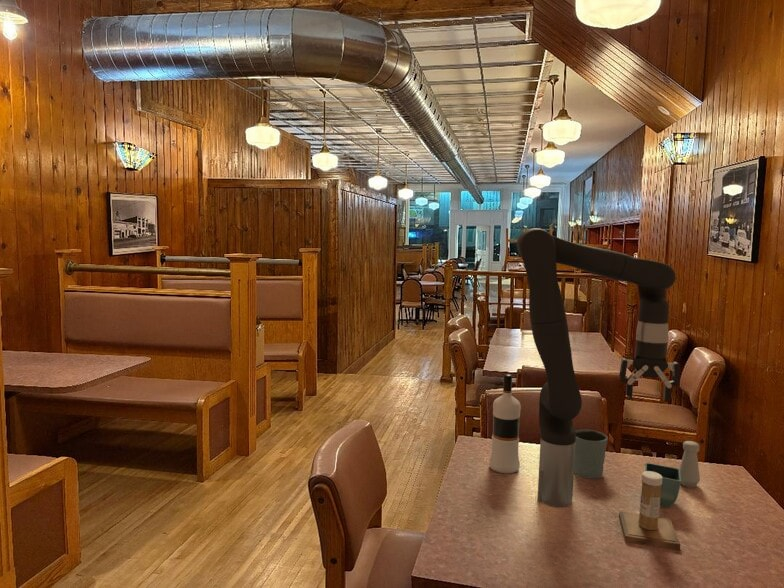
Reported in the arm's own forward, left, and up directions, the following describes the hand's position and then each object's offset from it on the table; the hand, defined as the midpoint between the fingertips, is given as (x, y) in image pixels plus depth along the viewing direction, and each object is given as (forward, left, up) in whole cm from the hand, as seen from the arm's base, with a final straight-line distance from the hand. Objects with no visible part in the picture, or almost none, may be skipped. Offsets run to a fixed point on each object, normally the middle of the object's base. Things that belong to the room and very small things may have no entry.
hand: (647, 399), depth 146 cm
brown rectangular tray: (0, -13, -30) cm, 33 cm away
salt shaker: (+16, +19, -30) cm, 39 cm away
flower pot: (+6, +5, -30) cm, 31 cm away
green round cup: (-12, +19, -30) cm, 38 cm away
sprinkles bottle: (0, -13, -29) cm, 31 cm away
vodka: (-37, +14, -30) cm, 50 cm away
